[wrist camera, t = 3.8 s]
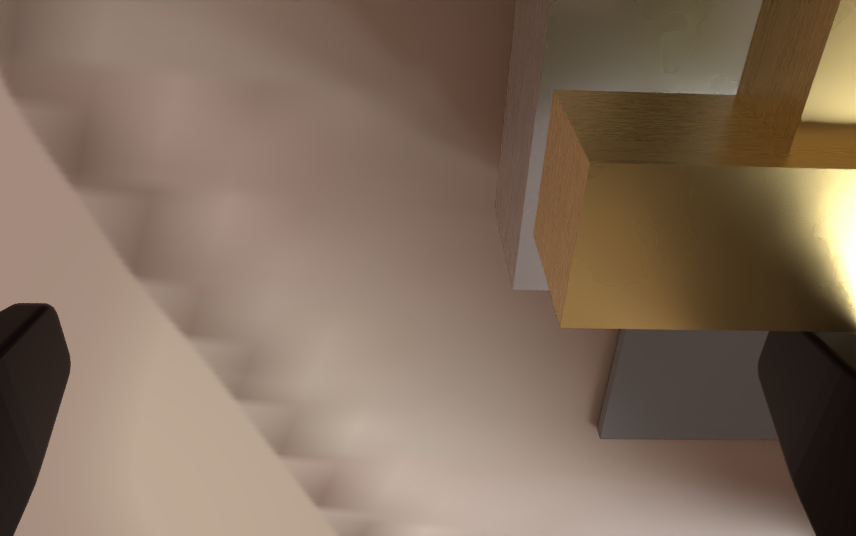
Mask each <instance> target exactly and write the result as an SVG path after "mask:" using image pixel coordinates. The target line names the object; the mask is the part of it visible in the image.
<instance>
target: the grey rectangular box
mask: <svg viewBox="0 0 856 536" xmlns="http://www.w3.org/2000/svg"><path fill="white" fill-rule="evenodd" d="M761 4H762V0H516V8H515V18H514V27H513V37H512V46H511V56H510V66H509V75H508V85H507V94H506V104H505V114H504V123H503V133H502V142H501V152H500V162H499V171H498V181H497V190H496V200H495V210H496V215H497V220H498V224H499V229H500V233H501V238H502V242H503V247H504V251H505V256H506V260H507V265H508V269H509V274H510V278H511V283H512V288H513V290H542V291H549V287H548V284H547V280H546V277H545V274H544V270H543V267H542V263H541V260H540V256H539V253H538V250H537V246H536V243H535V239H534V236H533V233H534V226H535V219H536V212H537V205H538V197H539V190H540V183H541V176H542V169H543V162H544V155H545V147H546V140H547V133H548V126H549V119H550V112H551V105H552V97H553V90H587V91H621V92H654V93H687V94H720V95H736V93H737V89H738V86H739V82H740V79H741V75H742V71H743V68H744V64H745V61H746V57H747V54H748V50H749V47H750V43H751V39H752V36H753V32H754V29H755V25H756V22H757V18H758V15H759V11H760V8H761Z"/></svg>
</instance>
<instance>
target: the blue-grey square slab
mask: <svg viewBox="0 0 856 536" xmlns="http://www.w3.org/2000/svg"><path fill="white" fill-rule="evenodd" d="M768 332H769V331H734V330H663V329H621V330H620V334H619V338H618V342H617V347H616V351H615V355H614V359H613V364H612V368H611V372H610V376H609V381H608V385H607V389H606V393H605V398H604V402H603V406H602V410H601V415H600V419H599V423H598V427H597V431H598V434H599V437H600V439H686V440H778V437H777V434H776V431H775V428H774V425H773V422H772V419H771V415H770V412H769V409H768V406H767V403H766V400H765V397H764V394H763V390H762V387H761V384H760V381H759V377H758V360H759V356H760V353H761V351H762V348H763V345H764V343H765V340H766V337H767V334H768ZM853 333H855V334H856V332H853Z"/></svg>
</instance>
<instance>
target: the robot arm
mask: <svg viewBox="0 0 856 536" xmlns="http://www.w3.org/2000/svg"><path fill="white" fill-rule="evenodd" d="M70 363H71V362H70V354H69V351H68V347H67V344H66V341H65V338H64V334H63V331H62V328H61V325H60V321H59V318H58V315H57V312H56V311H55V309H54V307H52V306H51V305H49V304H46V303H18V304H14V305H12V306H10V307H8V308H6V309H5V310H3V311H1V312H0V536H13V535H14V533H15V531H16V528H17V526H18V524H19V522H20V519H21V517H22V515H23V512H24V510H25V508H26V506H27V503H28V501H29V499H30V496H31V494H32V491H33V489H34V486H35V484H36V481H37V478H38V475H39V472H40V469H41V466H42V463H43V460H44V457H45V453H46V450H47V447H48V444H49V440H50V437H51V434H52V430H53V427H54V424H55V420H56V417H57V414H58V411H59V407H60V404H61V401H62V397H63V394H64V391H65V388H66V384H67V381H68V378H69V374H70V365H71V364H70ZM758 377H759V381H760V384H761V387H762V390H763V394H764V397H765V400H766V403H767V406H768V409H769V412H770V415H771V419H772V422H773V425H774V428H775V431H776V434H777V437H778V440H779V444H780V447H781V450H782V453H783V456H784V459H785V462H786V465H787V468H788V471H789V474H790V476H791V479H792V482H793V484H794V487H795V489H796V491H797V494H798V496H799V499H800V501H801V503H802V505H803V508H804V510H805V512H806V514H807V516H808V519H809V521H810V523H811V525H812V528H813V530H814V532H815V534H816V536H856V334H855V333H853V332H805V331H769V332H768V334H767V337H766V340H765V343H764V345H763V348H762V351H761V353H760V356H759V360H758Z"/></svg>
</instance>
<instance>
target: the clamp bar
mask: <svg viewBox="0 0 856 536" xmlns="http://www.w3.org/2000/svg"><path fill="white" fill-rule="evenodd" d="M533 236H534V239H535V243H536V246H537V250H538V253H539V256H540V260H541V263H542V267H543V270H544V274H545V277H546V280H547V284H548V287H549V291H550V294H551V298H552V301H553V304H554V308H555V311H556V315H557V318H558V322H559V325H560V328H592V329H663V330H734V331H805V332H856V0H762V4H761V8H760V11H759V15H758V18H757V22H756V25H755V29H754V32H753V36H752V39H751V43H750V47H749V50H748V54H747V57H746V61H745V64H744V68H743V71H742V75H741V79H740V82H739V86H738V89H737V93H736V95H720V94H687V93H654V92H621V91H587V90H553V97H552V105H551V112H550V119H549V126H548V133H547V140H546V147H545V155H544V162H543V169H542V176H541V183H540V190H539V197H538V205H537V212H536V219H535V226H534V233H533Z"/></svg>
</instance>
